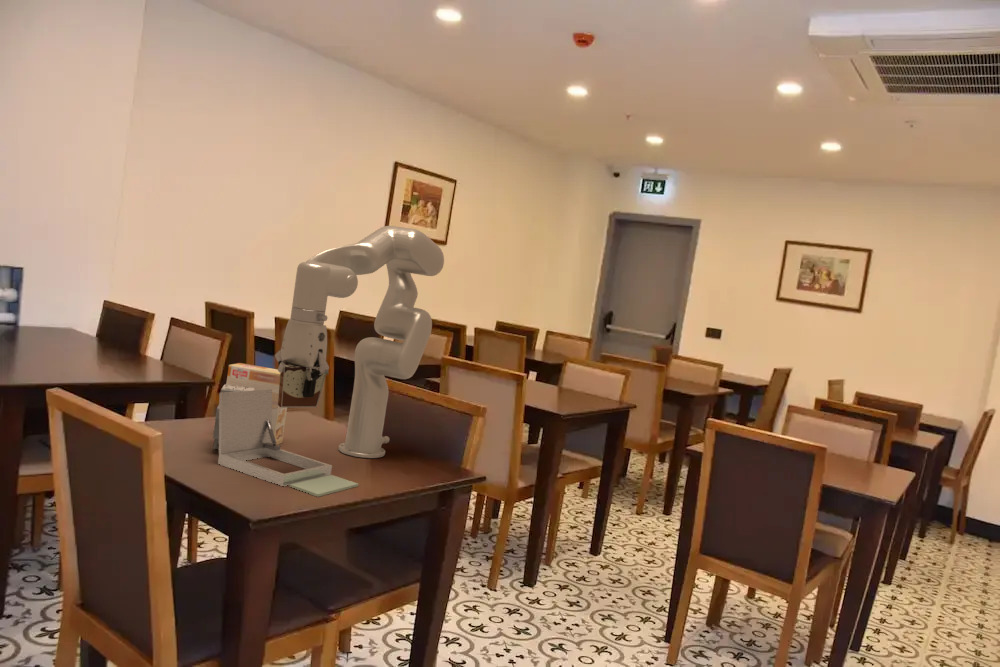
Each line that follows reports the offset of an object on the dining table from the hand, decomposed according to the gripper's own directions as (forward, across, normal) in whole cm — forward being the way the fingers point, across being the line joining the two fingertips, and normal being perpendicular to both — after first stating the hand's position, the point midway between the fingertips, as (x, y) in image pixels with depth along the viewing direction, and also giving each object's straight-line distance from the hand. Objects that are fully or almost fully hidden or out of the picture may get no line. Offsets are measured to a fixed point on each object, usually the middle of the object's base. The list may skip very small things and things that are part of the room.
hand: (297, 393), depth 173 cm
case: (+19, +4, +1) cm, 19 cm away
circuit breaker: (+19, +21, -2) cm, 29 cm away
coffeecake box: (+19, +26, -14) cm, 35 cm away
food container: (+3, +1, 0) cm, 3 cm away
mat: (+19, -12, +1) cm, 22 cm away
